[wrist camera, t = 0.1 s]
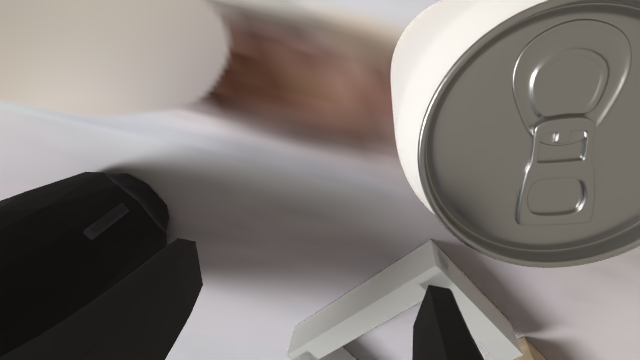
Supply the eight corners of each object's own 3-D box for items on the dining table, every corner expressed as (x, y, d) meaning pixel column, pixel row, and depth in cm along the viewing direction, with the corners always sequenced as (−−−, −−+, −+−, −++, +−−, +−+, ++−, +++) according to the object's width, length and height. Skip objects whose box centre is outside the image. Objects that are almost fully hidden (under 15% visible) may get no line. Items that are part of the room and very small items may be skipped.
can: (536, -19, 16) (847, -83, 5) (525, 125, 19) (719, 283, 8) (385, 6, 17) (385, -5, 7) (394, 137, 20) (404, 285, 9)
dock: (368, 390, 28) (367, 423, 26) (295, 326, 27) (286, 355, 24) (510, 322, 24) (523, 354, 21) (430, 239, 22) (435, 265, 20)
